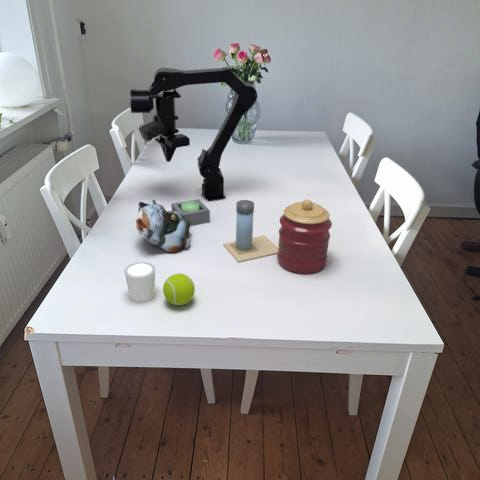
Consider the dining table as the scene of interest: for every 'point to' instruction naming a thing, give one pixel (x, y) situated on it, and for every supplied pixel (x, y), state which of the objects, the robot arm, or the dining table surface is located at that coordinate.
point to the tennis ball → (179, 289)
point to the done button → (189, 206)
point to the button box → (194, 213)
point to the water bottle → (244, 225)
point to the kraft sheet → (253, 249)
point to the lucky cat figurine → (163, 227)
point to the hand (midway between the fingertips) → (168, 161)
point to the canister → (304, 237)
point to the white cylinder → (140, 281)
